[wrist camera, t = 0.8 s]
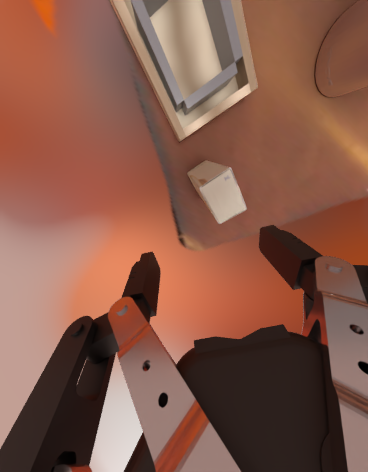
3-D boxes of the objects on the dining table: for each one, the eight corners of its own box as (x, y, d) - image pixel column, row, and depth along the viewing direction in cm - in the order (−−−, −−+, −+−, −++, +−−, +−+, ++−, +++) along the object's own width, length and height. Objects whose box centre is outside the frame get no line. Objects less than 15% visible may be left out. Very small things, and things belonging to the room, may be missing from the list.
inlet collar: (199, -47, 15) (207, -105, 12) (232, 81, 20) (245, 66, 17) (132, 16, 17) (122, -18, 13) (179, 119, 22) (181, 113, 19)
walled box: (199, -89, 15) (208, -163, 11) (244, 97, 22) (258, 87, 19) (110, 2, 17) (94, -37, 13) (179, 142, 25) (180, 140, 21)
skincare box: (186, 172, 27) (196, 185, 17) (206, 159, 26) (230, 163, 16) (201, 200, 30) (219, 226, 20) (220, 189, 29) (248, 209, 19)
